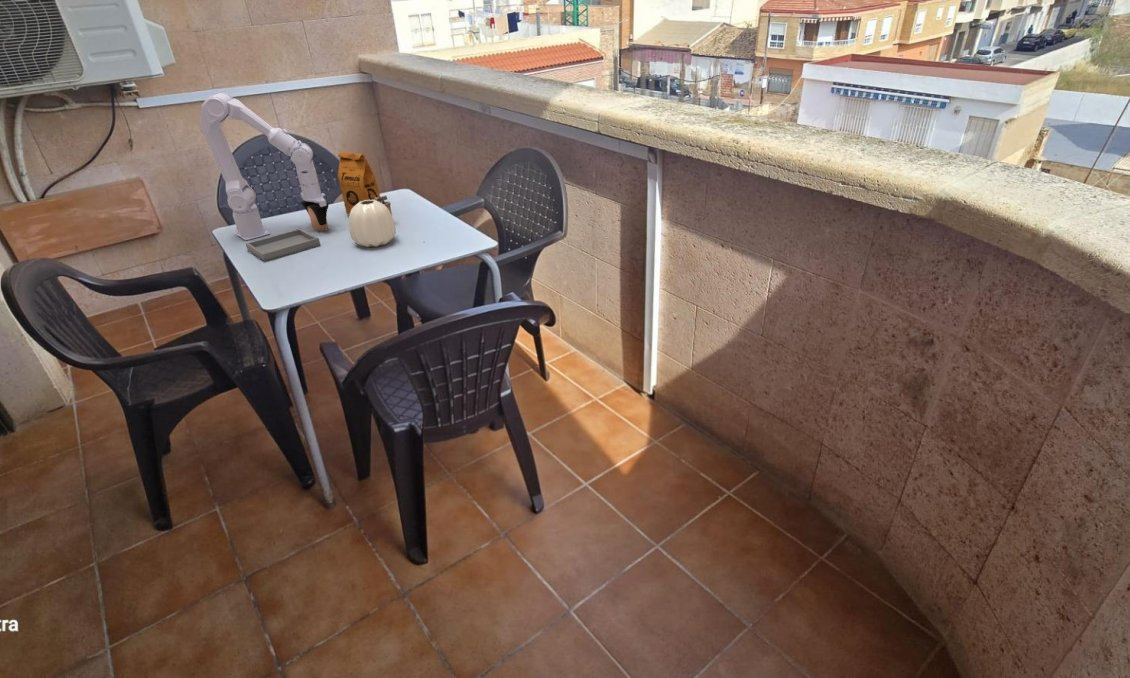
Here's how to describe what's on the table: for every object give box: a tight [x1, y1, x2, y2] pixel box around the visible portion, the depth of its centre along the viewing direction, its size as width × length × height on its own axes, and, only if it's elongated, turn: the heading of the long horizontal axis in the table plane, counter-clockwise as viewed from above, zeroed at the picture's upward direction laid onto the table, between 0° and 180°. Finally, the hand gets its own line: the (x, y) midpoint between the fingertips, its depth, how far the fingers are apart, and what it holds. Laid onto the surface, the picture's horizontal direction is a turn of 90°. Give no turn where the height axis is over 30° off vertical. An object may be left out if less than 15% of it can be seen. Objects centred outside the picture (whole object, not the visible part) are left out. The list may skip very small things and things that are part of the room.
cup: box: [307, 204, 329, 232], centre depth 195 cm, size 5×5×8 cm
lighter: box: [374, 195, 393, 216], centre depth 196 cm, size 8×3×10 cm, turn 143°
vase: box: [348, 200, 397, 248], centre depth 182 cm, size 14×14×13 cm
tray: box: [245, 228, 321, 263], centre depth 182 cm, size 14×18×2 cm
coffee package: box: [337, 151, 381, 215], centre depth 204 cm, size 10×12×22 cm
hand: (319, 222), depth 196 cm, fingers closed on cup, 5 cm apart
